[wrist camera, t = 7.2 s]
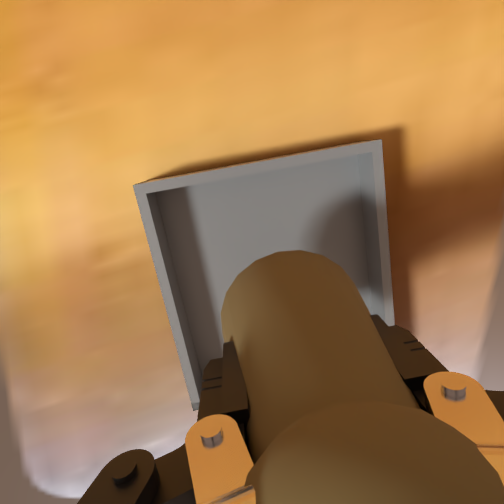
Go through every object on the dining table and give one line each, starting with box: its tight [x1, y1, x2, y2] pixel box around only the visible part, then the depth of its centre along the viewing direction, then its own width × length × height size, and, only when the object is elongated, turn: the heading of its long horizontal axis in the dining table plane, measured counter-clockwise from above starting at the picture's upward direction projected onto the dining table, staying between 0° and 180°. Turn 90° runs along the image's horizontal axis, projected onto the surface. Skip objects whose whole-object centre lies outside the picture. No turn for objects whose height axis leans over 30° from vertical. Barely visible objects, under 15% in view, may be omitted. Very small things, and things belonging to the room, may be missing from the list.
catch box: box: [133, 139, 395, 411], centre depth 20 cm, size 13×12×2 cm
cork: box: [221, 250, 504, 504], centre depth 10 cm, size 6×6×11 cm
